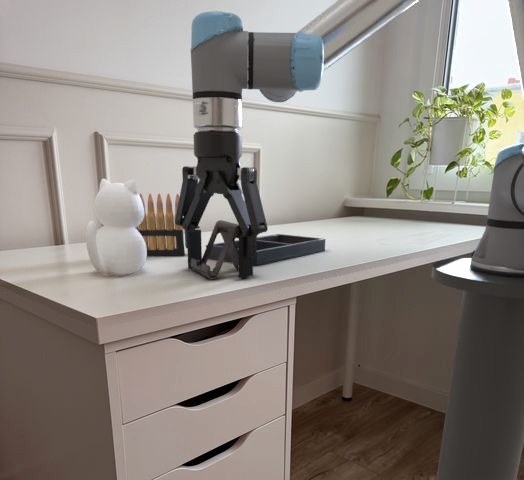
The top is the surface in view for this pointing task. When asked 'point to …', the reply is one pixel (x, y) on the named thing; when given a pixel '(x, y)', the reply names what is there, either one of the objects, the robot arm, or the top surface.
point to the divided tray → (276, 248)
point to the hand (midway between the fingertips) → (219, 272)
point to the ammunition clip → (161, 229)
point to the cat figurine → (117, 229)
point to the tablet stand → (229, 235)
